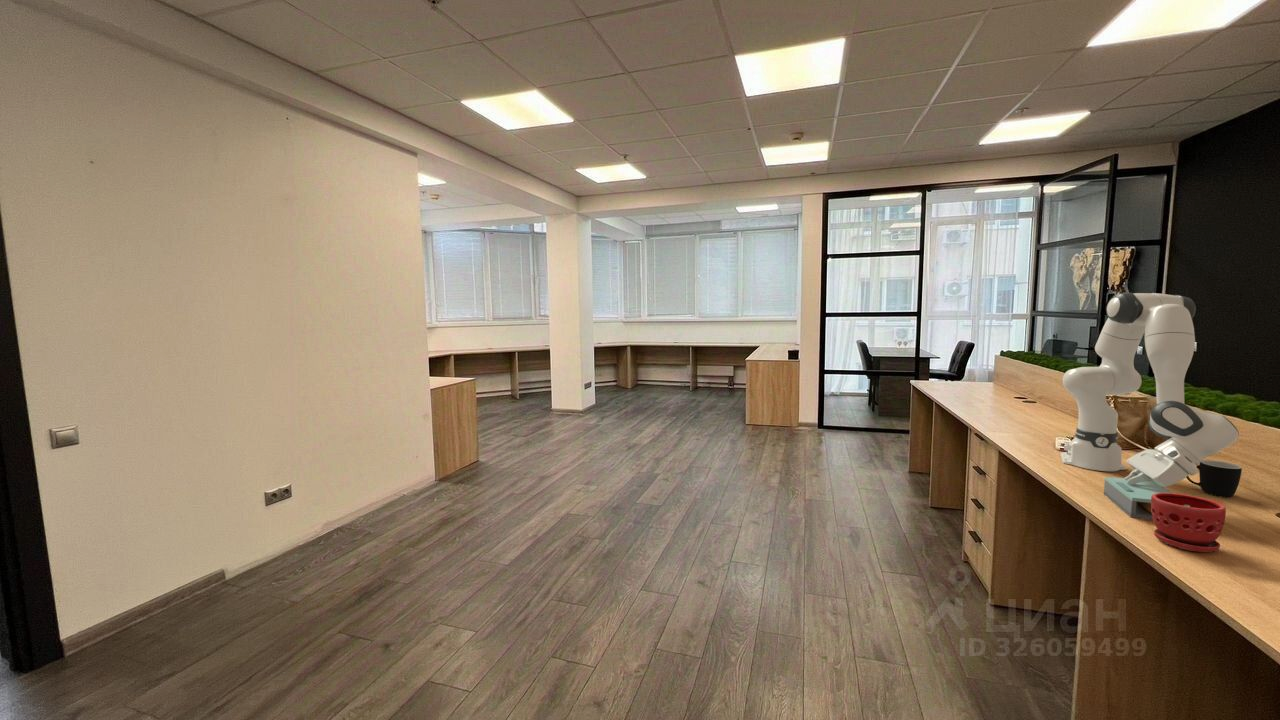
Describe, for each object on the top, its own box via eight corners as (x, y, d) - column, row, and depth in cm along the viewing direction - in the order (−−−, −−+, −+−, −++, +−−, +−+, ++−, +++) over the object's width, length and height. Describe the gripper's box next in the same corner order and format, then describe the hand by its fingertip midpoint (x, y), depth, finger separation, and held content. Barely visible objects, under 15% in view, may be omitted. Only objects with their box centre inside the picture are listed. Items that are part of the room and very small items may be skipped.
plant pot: (1219, 544, 130) (1224, 499, 129) (1223, 561, 121) (1228, 514, 120) (1148, 528, 139) (1152, 487, 138) (1146, 543, 130) (1151, 499, 129)
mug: (1234, 493, 164) (1238, 463, 163) (1241, 501, 157) (1245, 470, 156) (1181, 485, 172) (1184, 456, 171) (1186, 492, 165) (1189, 463, 164)
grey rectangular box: (1103, 494, 164) (1104, 479, 164) (1152, 500, 159) (1153, 485, 159) (1130, 517, 147) (1132, 500, 146) (1186, 524, 141) (1188, 507, 141)
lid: (1104, 479, 164) (1105, 475, 164) (1154, 484, 159) (1154, 480, 159) (1132, 500, 146) (1132, 496, 146) (1188, 506, 141) (1188, 502, 141)
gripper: (1148, 440, 161) (1106, 464, 167) (1182, 457, 143) (1133, 484, 148) (1165, 455, 160) (1122, 479, 165) (1201, 474, 142) (1151, 501, 147)
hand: (1127, 482), depth 157 cm, fingers closed, pressing on lid
